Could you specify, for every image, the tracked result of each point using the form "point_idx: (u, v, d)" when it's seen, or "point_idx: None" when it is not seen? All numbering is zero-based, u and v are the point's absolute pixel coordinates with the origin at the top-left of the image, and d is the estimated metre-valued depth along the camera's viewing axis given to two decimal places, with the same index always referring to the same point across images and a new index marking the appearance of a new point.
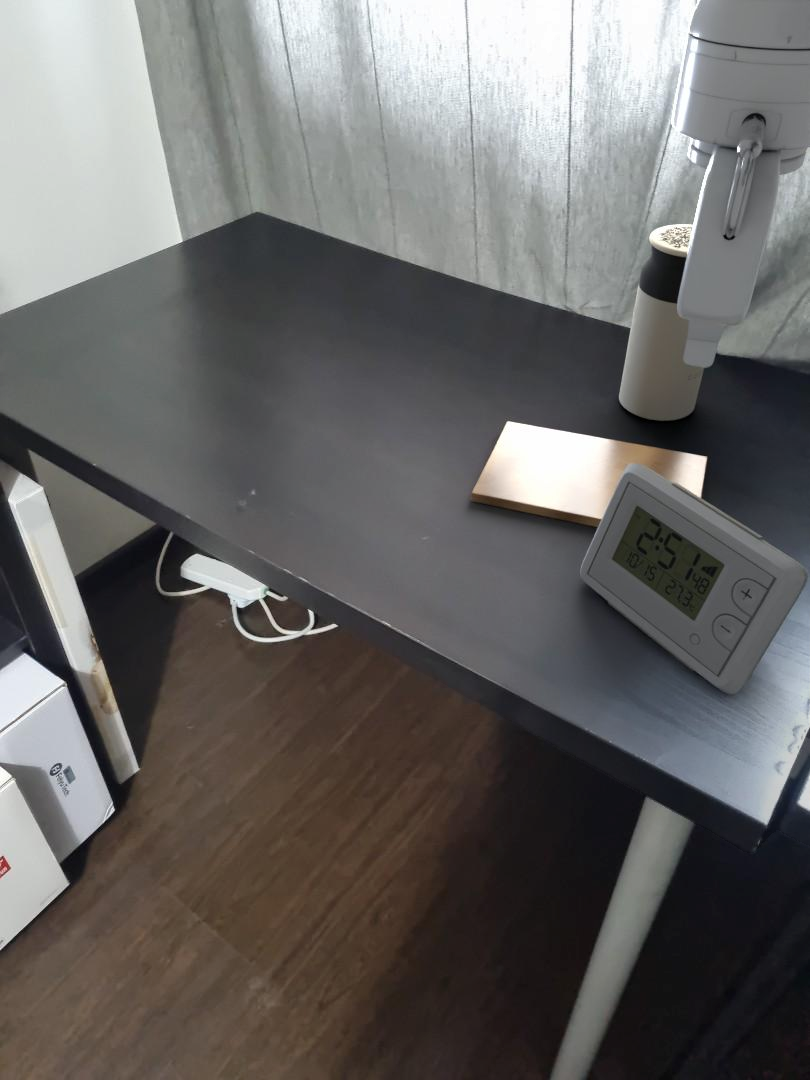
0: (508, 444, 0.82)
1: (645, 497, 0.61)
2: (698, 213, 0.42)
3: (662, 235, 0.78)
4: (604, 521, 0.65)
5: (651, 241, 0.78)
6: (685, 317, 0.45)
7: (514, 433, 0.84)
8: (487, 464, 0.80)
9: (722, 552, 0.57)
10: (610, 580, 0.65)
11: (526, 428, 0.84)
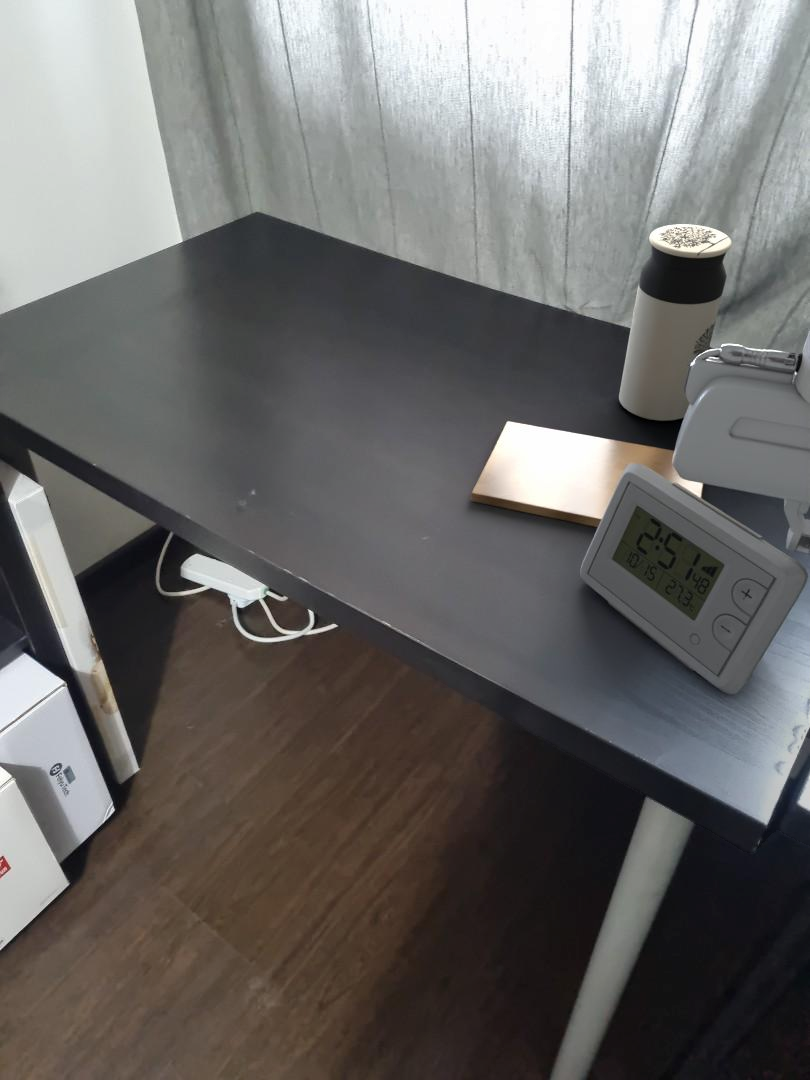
0: (508, 444, 0.82)
1: (645, 497, 0.61)
2: None
3: (662, 235, 0.78)
4: (604, 521, 0.65)
5: (651, 241, 0.78)
6: None
7: (514, 433, 0.84)
8: (487, 464, 0.80)
9: (722, 552, 0.57)
10: (610, 580, 0.65)
11: (526, 428, 0.84)
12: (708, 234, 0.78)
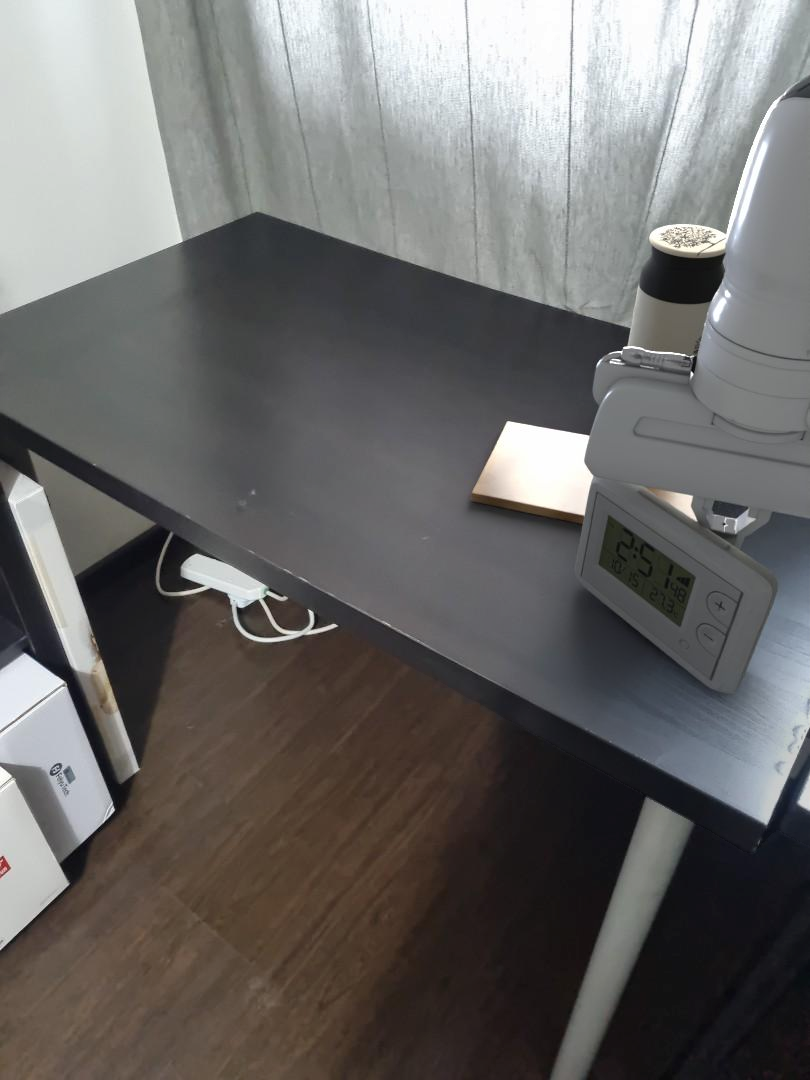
0: (508, 444, 0.82)
1: (613, 508, 0.60)
2: None
3: (662, 235, 0.78)
4: (584, 528, 0.64)
5: (651, 241, 0.78)
6: None
7: (514, 433, 0.84)
8: (487, 464, 0.80)
9: (691, 565, 0.55)
10: (601, 584, 0.64)
11: (526, 428, 0.84)
12: (708, 234, 0.78)
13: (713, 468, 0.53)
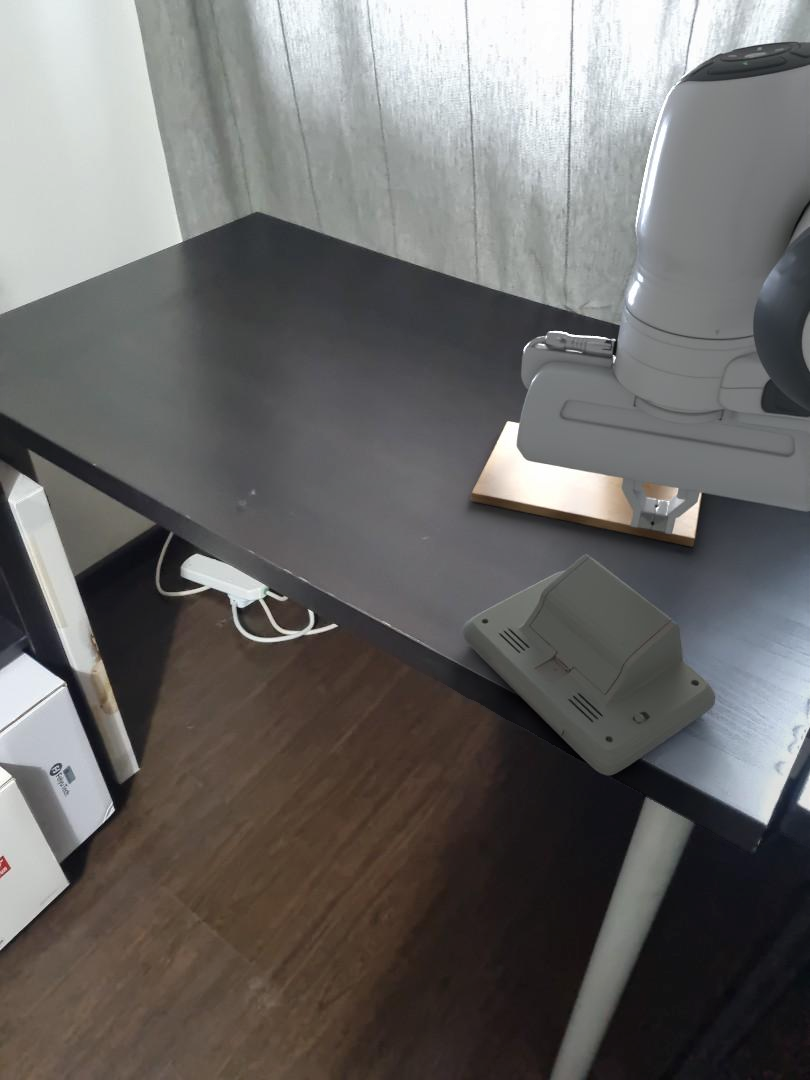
0: (508, 444, 0.82)
1: None
2: None
3: None
4: None
5: None
6: None
7: (514, 433, 0.84)
8: (487, 464, 0.80)
9: None
10: None
11: None
12: None
13: (638, 450, 0.54)
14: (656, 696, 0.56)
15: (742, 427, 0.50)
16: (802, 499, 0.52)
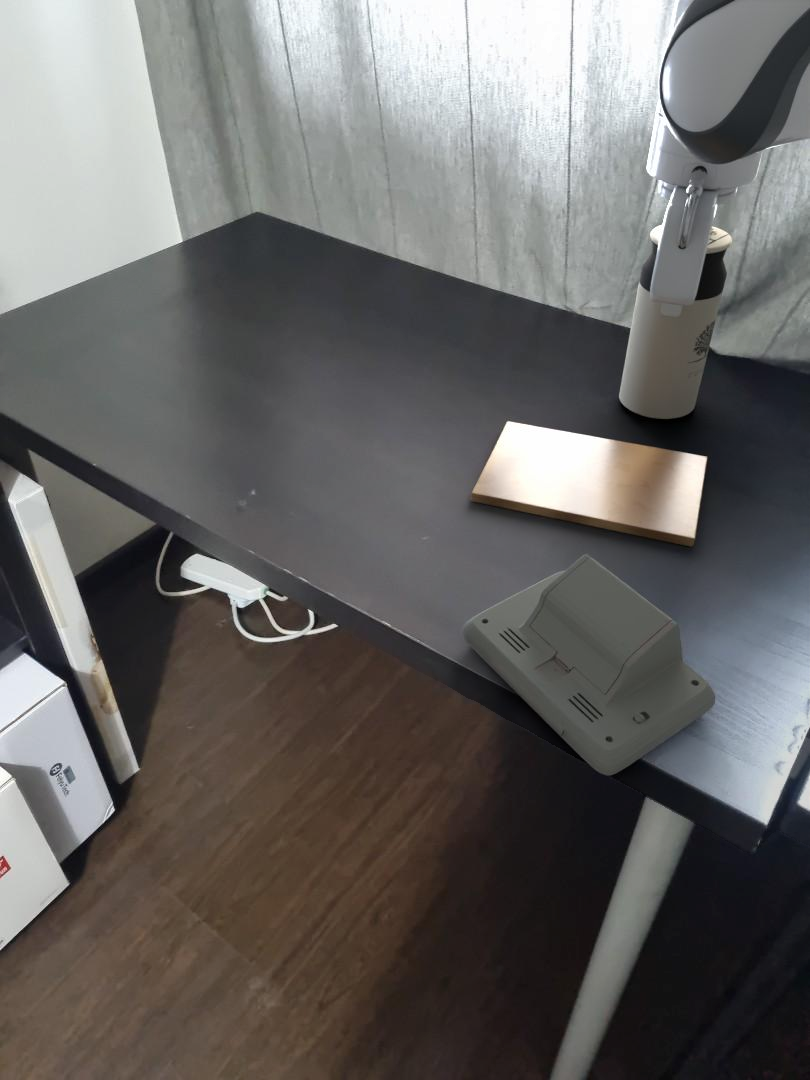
0: (508, 444, 0.82)
1: None
2: (662, 231, 0.64)
3: None
4: None
5: (652, 238, 0.78)
6: (655, 300, 0.67)
7: (514, 433, 0.84)
8: (487, 464, 0.80)
9: None
10: None
11: (526, 428, 0.84)
12: None
13: None
14: (656, 696, 0.56)
15: None
16: None
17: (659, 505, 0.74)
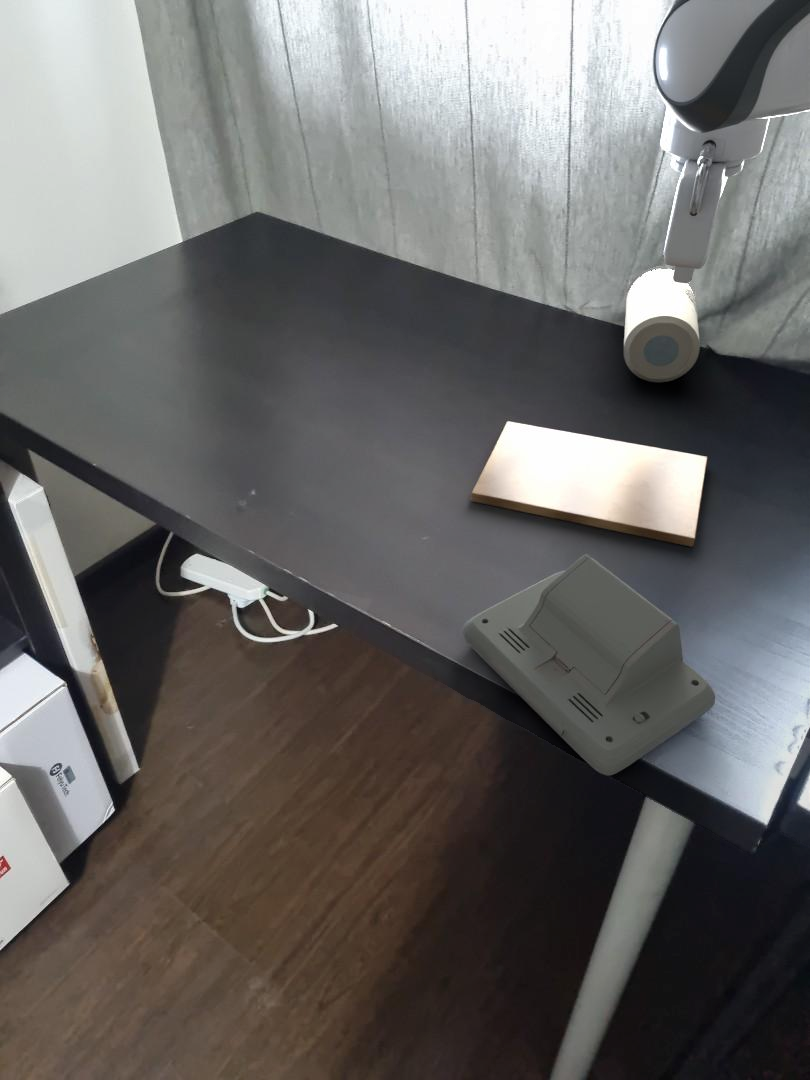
0: (508, 444, 0.82)
1: None
2: (675, 200, 0.70)
3: None
4: None
5: None
6: (668, 264, 0.73)
7: (514, 433, 0.84)
8: (487, 464, 0.80)
9: None
10: None
11: (526, 428, 0.84)
12: None
13: None
14: (656, 696, 0.56)
15: None
16: (721, 192, 0.84)
17: (659, 505, 0.74)
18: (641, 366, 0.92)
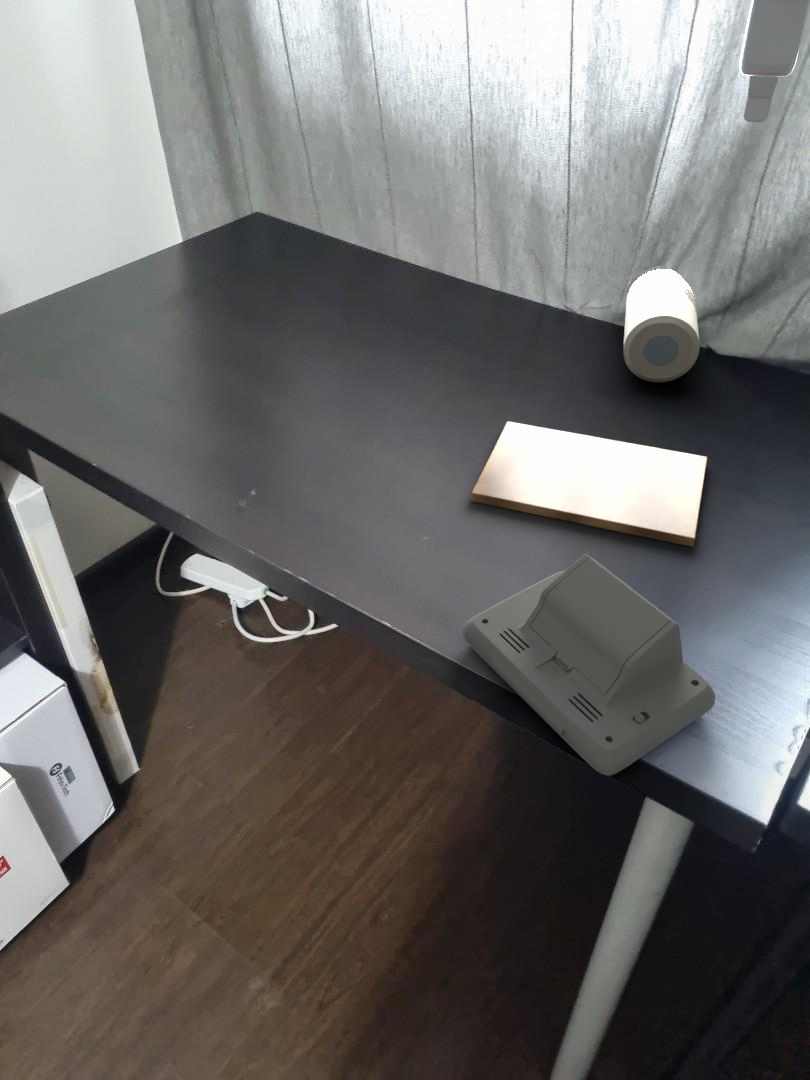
0: (508, 444, 0.82)
1: None
2: None
3: None
4: None
5: None
6: (746, 72, 0.57)
7: (514, 433, 0.84)
8: (487, 464, 0.80)
9: None
10: None
11: (526, 428, 0.84)
12: None
13: None
14: (656, 696, 0.56)
15: None
16: None
17: (659, 505, 0.74)
18: (641, 366, 0.92)
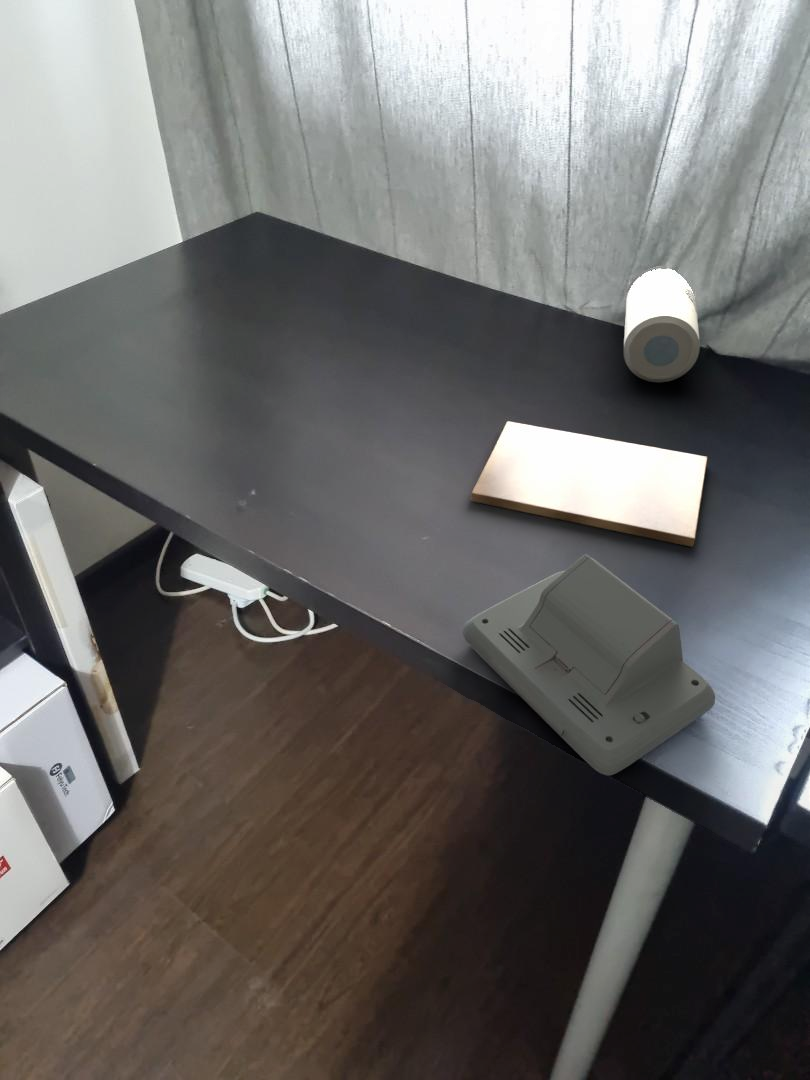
0: (508, 444, 0.82)
1: None
2: None
3: None
4: None
5: None
6: None
7: (514, 433, 0.84)
8: (487, 464, 0.80)
9: None
10: None
11: (526, 428, 0.84)
12: None
13: None
14: (656, 696, 0.56)
15: None
16: None
17: (659, 505, 0.74)
18: (641, 366, 0.92)
